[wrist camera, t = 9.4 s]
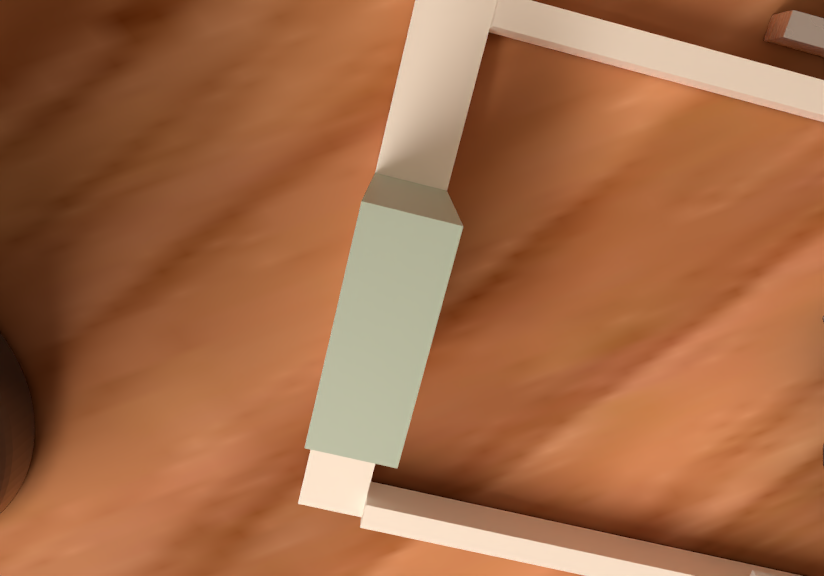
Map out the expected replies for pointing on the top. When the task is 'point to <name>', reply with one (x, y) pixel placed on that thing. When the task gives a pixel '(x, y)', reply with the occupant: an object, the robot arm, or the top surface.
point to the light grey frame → (431, 267)
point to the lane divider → (797, 32)
